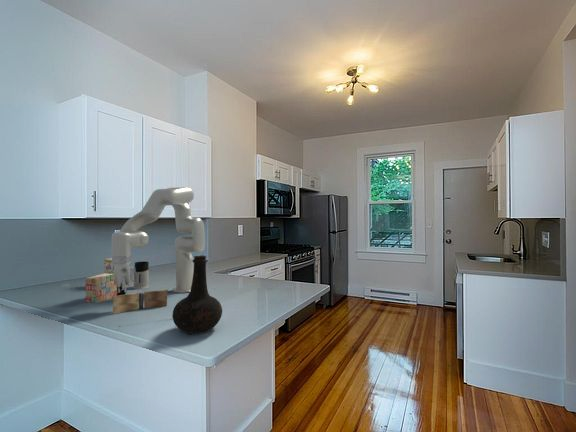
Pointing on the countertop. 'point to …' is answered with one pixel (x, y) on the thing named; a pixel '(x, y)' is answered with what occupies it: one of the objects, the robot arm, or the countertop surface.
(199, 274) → the glass bottle
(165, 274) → the countertop surface
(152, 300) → the fixed fence panel
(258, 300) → the countertop surface
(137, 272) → the white and black mug
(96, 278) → the stack of blocks
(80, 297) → the countertop surface
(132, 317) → the countertop surface
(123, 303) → the panel
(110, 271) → the candy bar box
